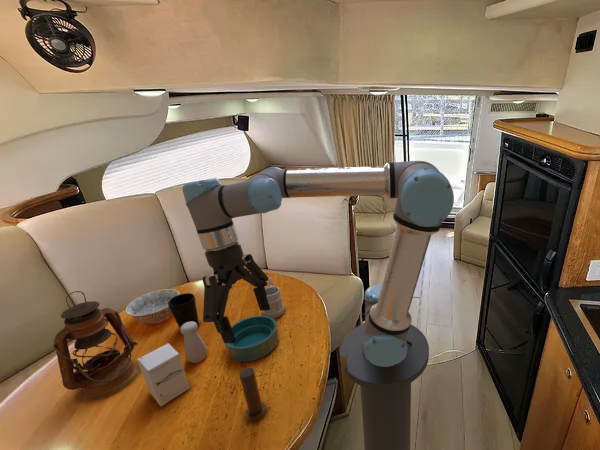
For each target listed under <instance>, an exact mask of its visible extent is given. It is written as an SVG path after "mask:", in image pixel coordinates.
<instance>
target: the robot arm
mask: <svg viewBox="0 0 600 450" xmlns="http://www.w3.org/2000/svg"><path fill="white" fill-rule="evenodd" d="M450 182H451V181H450V180H449V179H448V177H446V175H445V174H444V173H443V172H440V170H439V169H438V168H437V167H436V166H435V165H434V164H432V163H430V162H429V161H425V160H409V161H408V160H407V161H394V162H387V163H386V164H385V165H383V166H356V167H355V166H354V167H353V166H352V167H351V166H350V167H320V168H318V167H315V168H288V169H287V168H286V169H283V168H280V167H278V166H270V167H266V168H264V169H261V170H260V171H259V172H258V173H257V174H255V175H253V176H251V177H249V178H247V179H246V180H244V181H241V182H236V183H231V184H226V185H225V184H222V183H221V181H220V179H219V178H217V177H212V178H207V179H200V180H196V181H190V182H186V183H184V184H183V185H182V188H181V190H182V193H183V197H184V200H185V201H184V202H185V206H186V207H187V209H188V212H189V214H190V217H191V219H192V222H193V225H194V227H195V230H196V233H197V236H198V239H199V241H200V244H201V247H202V249H203V250H204V251H205V252H204V255H205V259H206V262H207V264H208V266H209V267H211V268H212V270H213V273H212V274H211V275H206V276H203V277H202V284H203V288H204V290H203V313H202V322H203V323H213V325H214V326H215V329H216V332H217V333H218V334H220V337H221V339H222V341H223V344H225V343H234V342H235V341H236V339H235V336H234V333H233V331H232V328H231V326H232V325H231V323H230V322H231V321H230V320H229V317H228V316H227V315H225V313H226V307H227V304H228V298H229V293H230V290H232V287H233V285H235V284H236V283H237V282H238V281H240V280H243V281H245V282H246V283H248V284H250V285H251V286H253V287H254V288H253V289H252V290H253V293H254V296H255V299H256V302H257V305H258V308H259V311H260V312H263V311H264V310H270V306H269V303H268V299H267V293H266V290H265V288H266V287H267V286H268V282H269V280H268V278H269V277H268V275H267V274H266V273H265V272H264V271H263V269H261V267H260V266H259V264H257V263H256V261H255V259H254V257H253V255H252V254H251V253H248V254H247V253H246V254H244V251H243V247H242V245H241V242H240V241H239V239H240V238H239V235H238V233H237V229H236V226H235V224H234V221H233V219H236V218H240V217H246V216H254V215H258V214H266V213H269V212H273V211H277V210H278V209H280V208H281V206H282V202H283V199H291V198H292V199H293V198H294V199H295V198H322V197H323V198H327V197H357V196H359V197H362V196H385V197H386V198H388V199H396V202H395V207H394V212H393V215H392V220H393V222H394V223H395V224H396V229H395V233H394V237H393V240H392V245H391V249H390V252H389V257H388V261H387V264H386V269H385V272H384V276H383V280H382V283H378V284H374V285H372V286H370V287H368V288H367V289H366V290H365V291H364V297H363V300H364V307H365V308H364V323H365V325H364V338H363V341H362V352H363V355H364V356H365V358H366V359H367V360H369V362H370V363H372V364H374V365H377V366H381V367H388V366H393V365H395V364H398V363H400V362H401V361H403V360H404V358H405V357H406V355H407V349H408V345H407V344H409V345H412V343H411V342H409V341H407V335H408V332H409V328H410V325H412V321H413V320H412V319H413V317H412V315H411V313H410V308H411V304H412V302H413V299H414V294H415V291H416V288H417V285H418V281H419V278H420V276H421V275H420V274H421V271H422V268H423V264H424V262H425V258H426V254H427V251H428V247H429V245H430V241H431V238H432V235H434V234H436V233H437V234H438V233H439V231H440V229H441V227H442V223H443V222H444V221H445V220H446V219H447V218H448V217H449V216H450V214H451V212H452V211H453V208H454V203H455V195H454V190H453V187H452V184H451V183H450Z"/></svg>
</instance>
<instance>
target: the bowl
mask: <svg viewBox="0 0 600 450" xmlns="http://www.w3.org/2000/svg"><path fill="white" fill-rule="evenodd" d="M178 295H181V292H180V291H179V290H177V289H173V288H171V289H170V288H164V289H158V290H154V291H151V292H148V293H145V294H142V295H140V296H139V297H137V298H134V299H133V300H132V301H130V303H129V304H128V305H127V306H126V308H125V313H126V314H127V315H129V316H130V317H132V318H133V319H134V320H136V321H138V322H140V323H144V324H151V325H155V324H160V323H163V322H164V321H166V320H168V319H169V318H170V317H171V316H172V315H173V314H172V312H171V309H170V307H169V305H168V302H169V300H170V299H172V298H173V297H175V296H178Z"/></svg>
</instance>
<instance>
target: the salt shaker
mask: <svg viewBox="0 0 600 450" xmlns="http://www.w3.org/2000/svg"><path fill="white" fill-rule="evenodd" d="M198 328H199V327H197V324H196V322H192V321H190V322H187V323H185V324H183V325H182V326H181V328H179V331H180V334H182V335H183V339H184V357H185V359H186V360H187V361H189V362H190V363H193V364H197V363H200V362H202V361H204V360H205V358H206V357H207V354H208V347H207V345H206V343H205V342H204V340H203V339H202V337H201V336H200V334H199V333H198V331H197V330H198Z"/></svg>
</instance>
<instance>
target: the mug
mask: <svg viewBox="0 0 600 450" xmlns="http://www.w3.org/2000/svg"><path fill="white" fill-rule="evenodd" d="M265 290H266V293H267V299H268V303H269V306H270V310H264V311H262V313H263V316H268V317H271V318H273V319H277V318H280V317H281V316H282V315H284V314H285V304H284V303H283V296H282V293H281V290H280V288H279V287H278V286H276V285H274V283H273V278H272V277H268V287H265Z"/></svg>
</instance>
